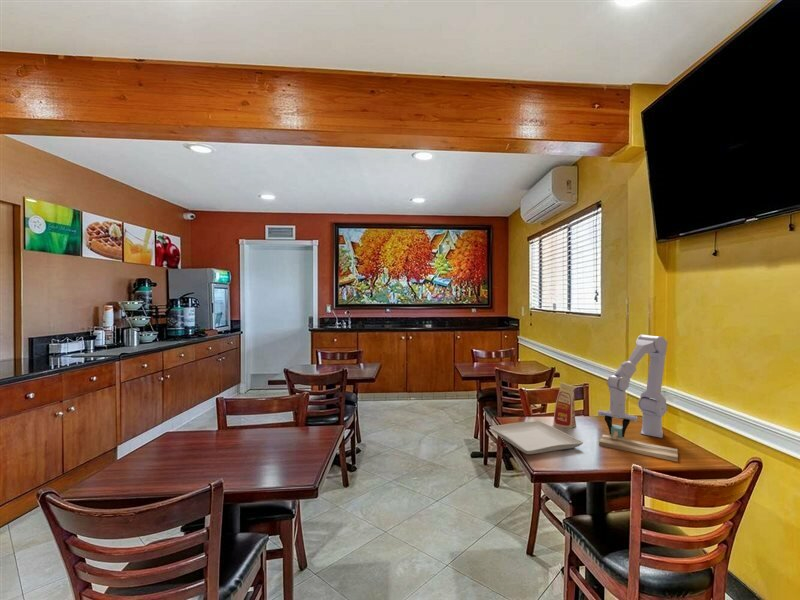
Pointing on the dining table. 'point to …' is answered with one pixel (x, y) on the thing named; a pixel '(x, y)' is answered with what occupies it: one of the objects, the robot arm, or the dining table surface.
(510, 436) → the square plate
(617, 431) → the tan post teal base
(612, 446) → the board
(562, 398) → the milk carton
